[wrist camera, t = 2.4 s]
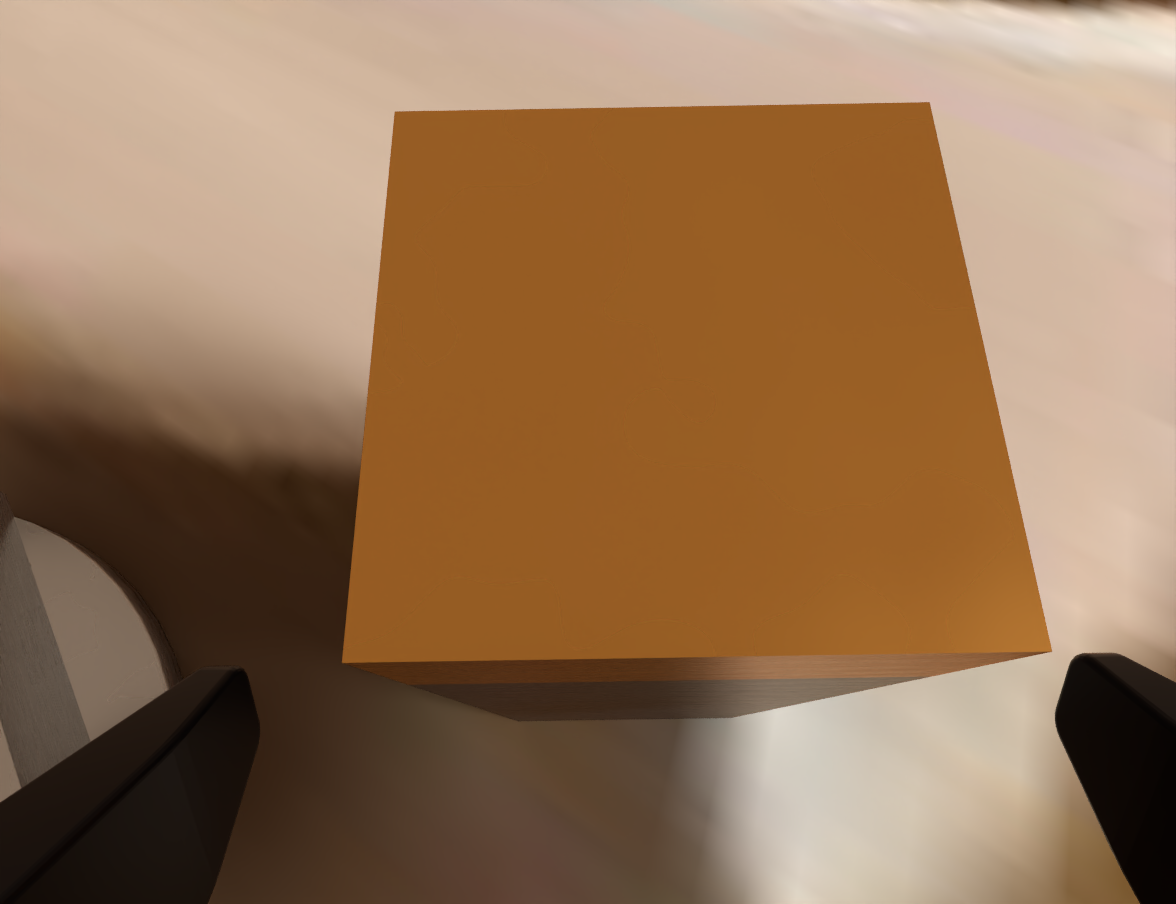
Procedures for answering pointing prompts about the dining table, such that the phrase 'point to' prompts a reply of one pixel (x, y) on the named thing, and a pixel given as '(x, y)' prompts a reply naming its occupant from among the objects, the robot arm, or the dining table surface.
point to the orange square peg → (679, 416)
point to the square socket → (68, 649)
